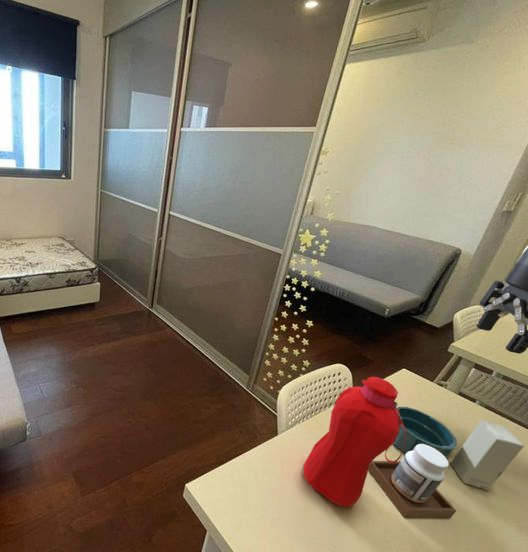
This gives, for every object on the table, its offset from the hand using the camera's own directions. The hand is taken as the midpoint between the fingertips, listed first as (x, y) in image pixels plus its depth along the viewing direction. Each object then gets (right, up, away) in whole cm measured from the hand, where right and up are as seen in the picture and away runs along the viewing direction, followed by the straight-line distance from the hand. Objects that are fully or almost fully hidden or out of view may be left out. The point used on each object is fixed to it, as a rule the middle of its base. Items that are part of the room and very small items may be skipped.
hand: (496, 339), depth 65 cm
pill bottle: (-20, -29, -2) cm, 35 cm away
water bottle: (-35, -28, -2) cm, 45 cm away
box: (-3, -30, +3) cm, 30 cm away
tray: (-20, -29, -2) cm, 36 cm away
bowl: (-9, -26, +9) cm, 29 cm away
